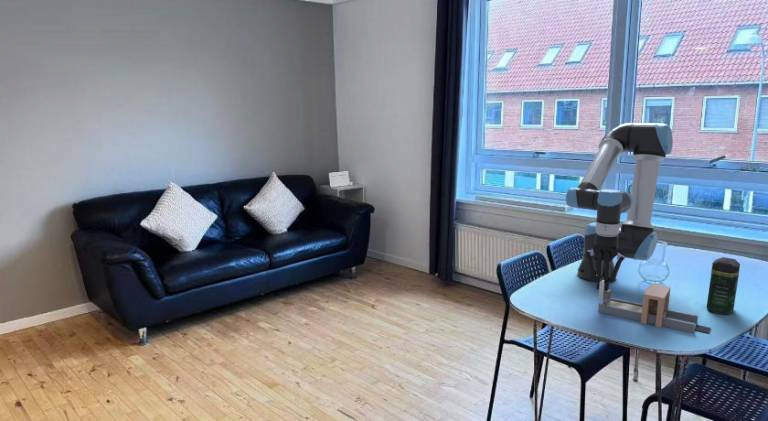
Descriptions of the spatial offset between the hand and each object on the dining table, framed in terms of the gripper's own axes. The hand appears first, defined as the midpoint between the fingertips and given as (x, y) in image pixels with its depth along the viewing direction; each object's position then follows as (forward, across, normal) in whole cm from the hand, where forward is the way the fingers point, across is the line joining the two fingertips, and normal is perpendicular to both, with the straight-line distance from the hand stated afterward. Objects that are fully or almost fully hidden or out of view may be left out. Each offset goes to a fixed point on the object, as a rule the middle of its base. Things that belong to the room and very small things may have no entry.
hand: (601, 298), depth 184 cm
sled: (+2, +11, 0) cm, 11 cm away
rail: (+4, +15, 0) cm, 15 cm away
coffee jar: (+4, +34, +22) cm, 41 cm away
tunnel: (+4, +17, 0) cm, 18 cm away
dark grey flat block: (+4, +31, 0) cm, 31 cm away
